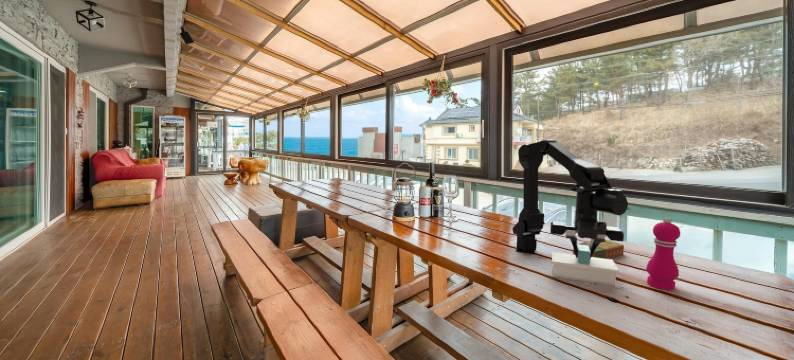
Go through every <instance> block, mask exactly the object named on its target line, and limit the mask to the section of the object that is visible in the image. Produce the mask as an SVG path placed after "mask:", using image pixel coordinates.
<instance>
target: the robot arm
mask: <svg viewBox="0 0 794 360" xmlns="http://www.w3.org/2000/svg"><path fill="white" fill-rule="evenodd" d="M517 153H518V162H519V164H520V166H521V167H522V169H523V192H522V193H523V197H522V198H523V200H522V201H523V205H522V206H523V207H522V210H521V211H520V212H519V215H518V221H517V223H516V224H515V225H514V226H513V227H512V228H511V229H512V234H513V235H516V247H515V252H519V253H520V252H521V253H527V254H535V251H537V247H538V246H537V244H538V243H537V242H538V239H537V237H536V236H537V235H540V234H541V232H542V229H544V225H545V224H546V223H545V217H546V216H545V213H544V212H541V211H540V209H539V168H540V166H541V165H542V163H543V161H544V156H546V155H548V156H549V157H550V158H551V159H553V160H554V161H556V162H557V163H558V164H559V165H561V166H562V167H563V168H564V169H566V170H567V171H568V173H569V177H570V178H571V179H572V180H573V181H574V182H575V185H574V186H573V187H572V188H571V187H570V191H572V192H576V201H575V214H574V215H575V216H574V225H566V223H565V221H554V220H553V221H551V222H550V226H549V227H550V234H551V235H559V236H563V235H564V234H565V238H566V239H569V240H570V242H571V244H572V247H573V248H574V252H575V256H576V258H577V257H578V248H577V244H578V238H581V239H590V241H591V242H590V248H589V249H590V251H591V253H590V259H591V257H592V255H593V253H594V251H595V249H596V248H597V246H598V245H599V244H600V243H601V242H606V240H607V239H606V237H607V238H608V239H609V241H613V242H624V241H625V240H624V239H625V233H624V232H623V230H622V229H621V228H620V227H617V226H608V225H607V222H605V221H598V213H599V212H602V213H606V214H610V215H615V216H622V215H624V214H625V213H626V211H627V210H628V207H629V202H628V199H627V197H626V195H625V194H624V190H623V189H614V188H613V186H612V185H611V183H610V182H609V180H608V177H606V174H605V170H604V168H603V167H602V166H600V165H598V164H595V163H593V162H590V161H587V160H583V159H581V158H580V157H578V155H577V156H576V155H575V154H574V153H573V152H571V151H570V150H569V149H568V148H565V147H564V146H562V145H561V144H560V143H559V142H558V141H557V140H556V139H542V140H539V141H537V142H533V143H527V144H524V143H523V144H522V145H521V146H520V147H519V148H518V152H517ZM577 236H578V237H577ZM605 239H606V240H605Z"/></svg>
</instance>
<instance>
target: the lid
mask: <svg viewBox="0 0 794 360" xmlns="http://www.w3.org/2000/svg"><path fill="white" fill-rule="evenodd" d="M577 248H578V257H577V258H576V256H575V255H574V254H570V253H563V252H554V251H552V252H551V262H552V263H551V264H552V265H553V264H557V265H564V266H572V267H579V268H586V269H593V270H600V271H607V272H614V273H616V274H618V273H619V269H618V266H617V264H616V263H615V261H614V259H611V258H607V259H603V258H595V257H591V259H590V253H591V251H590V249H589V246H588V245H579V243H577Z"/></svg>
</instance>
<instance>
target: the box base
mask: <svg viewBox="0 0 794 360" xmlns="http://www.w3.org/2000/svg"><path fill="white" fill-rule="evenodd" d="M552 277H553V278H560V279H566V280H573V281H578V282H585V283H591V284H597V285H604V286H610V287H615V286H616V278H617V273H614V272H607V271H600V270H593V269H586V268H579V267H572V266H564V265H557V264H552Z"/></svg>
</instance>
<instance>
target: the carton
mask: <svg viewBox="0 0 794 360" xmlns="http://www.w3.org/2000/svg"><path fill="white" fill-rule="evenodd" d="M605 240H606V242H601V243H600V244H599V245H598V246H597V248H596V249H595V251H594V253H593V255H592V257H595V258H603V259H611V258H617V257H620V256H624V252H625V251H624V249H625V245H624V244H623V243H619V242H617V241H612V240H610V239H609V240H608V239H606V238H605ZM590 242H591V240H589V241H585V242H580V243H579V242H578V244H579V245H588V246H589V248H590ZM572 255H575V252H574V248H573V250H572Z"/></svg>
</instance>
